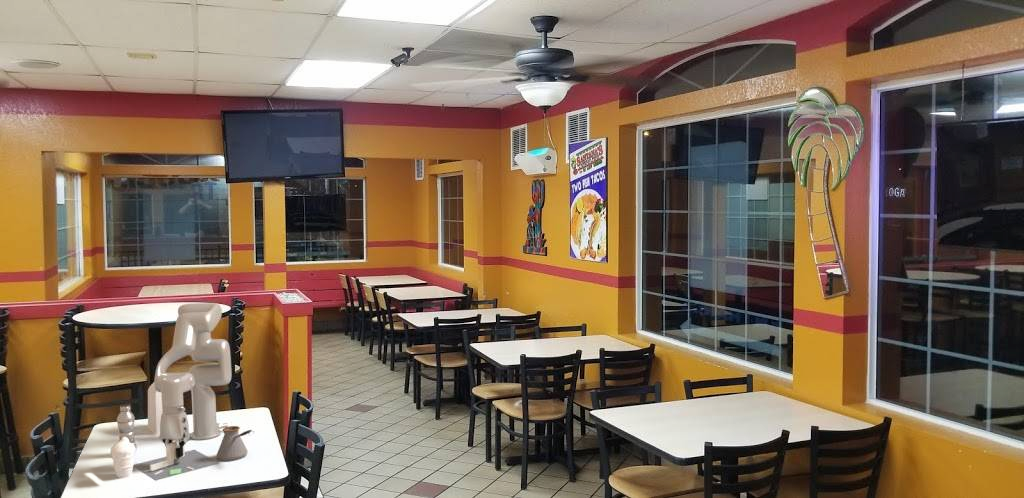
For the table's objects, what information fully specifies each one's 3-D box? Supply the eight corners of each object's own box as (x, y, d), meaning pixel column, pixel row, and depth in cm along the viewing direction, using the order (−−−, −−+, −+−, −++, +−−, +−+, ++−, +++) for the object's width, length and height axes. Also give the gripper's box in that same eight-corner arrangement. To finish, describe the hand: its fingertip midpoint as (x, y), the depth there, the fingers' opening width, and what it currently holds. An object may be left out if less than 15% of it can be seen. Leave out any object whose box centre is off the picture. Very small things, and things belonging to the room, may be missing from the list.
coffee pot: (211, 461, 296) (209, 423, 295) (238, 453, 305) (236, 417, 304) (239, 473, 282) (237, 434, 281) (266, 464, 291) (265, 426, 290)
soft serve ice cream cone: (119, 485, 272) (117, 442, 271) (107, 481, 277) (104, 438, 276) (141, 478, 279) (139, 435, 278) (128, 474, 284) (126, 432, 283)
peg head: (181, 460, 292) (180, 439, 292) (185, 461, 291) (184, 440, 290) (149, 470, 282) (148, 449, 281) (152, 471, 280) (151, 450, 280)
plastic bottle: (129, 457, 303) (126, 408, 302) (114, 456, 304) (112, 407, 303) (140, 451, 309) (137, 404, 308) (126, 451, 311) (123, 403, 309)
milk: (147, 429, 341) (144, 372, 340) (174, 423, 349) (171, 368, 347) (156, 434, 332) (153, 376, 331) (183, 429, 340) (180, 372, 339)
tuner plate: (194, 453, 306) (194, 448, 306) (220, 466, 289) (220, 462, 289) (132, 468, 289) (131, 464, 289) (155, 484, 272) (155, 479, 272)
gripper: (197, 408, 289) (200, 455, 290) (162, 405, 294) (164, 451, 295) (184, 413, 282) (186, 461, 283) (148, 411, 287) (150, 458, 288)
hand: (175, 456), depth 289 cm, fingers closed on peg head, 3 cm apart
